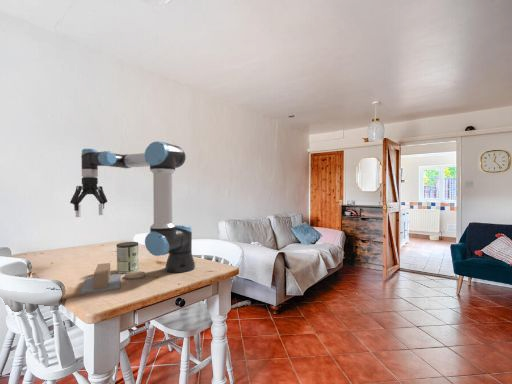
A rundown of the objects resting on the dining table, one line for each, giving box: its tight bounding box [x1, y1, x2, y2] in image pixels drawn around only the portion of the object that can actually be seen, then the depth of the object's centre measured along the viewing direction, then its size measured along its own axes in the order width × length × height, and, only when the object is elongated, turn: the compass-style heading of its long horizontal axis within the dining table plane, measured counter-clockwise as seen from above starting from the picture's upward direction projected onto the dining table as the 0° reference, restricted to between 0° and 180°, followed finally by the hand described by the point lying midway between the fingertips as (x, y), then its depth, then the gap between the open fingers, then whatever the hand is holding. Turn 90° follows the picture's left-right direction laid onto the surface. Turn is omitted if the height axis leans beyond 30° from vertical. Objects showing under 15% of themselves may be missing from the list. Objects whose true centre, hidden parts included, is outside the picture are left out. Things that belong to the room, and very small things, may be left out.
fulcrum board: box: [79, 262, 122, 295], centre depth 119 cm, size 20×14×7 cm
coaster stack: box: [124, 270, 147, 281], centre depth 129 cm, size 9×9×2 cm
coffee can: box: [116, 241, 139, 274], centre depth 139 cm, size 10×10×14 cm
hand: (90, 216), depth 147 cm, fingers open, 13 cm apart
